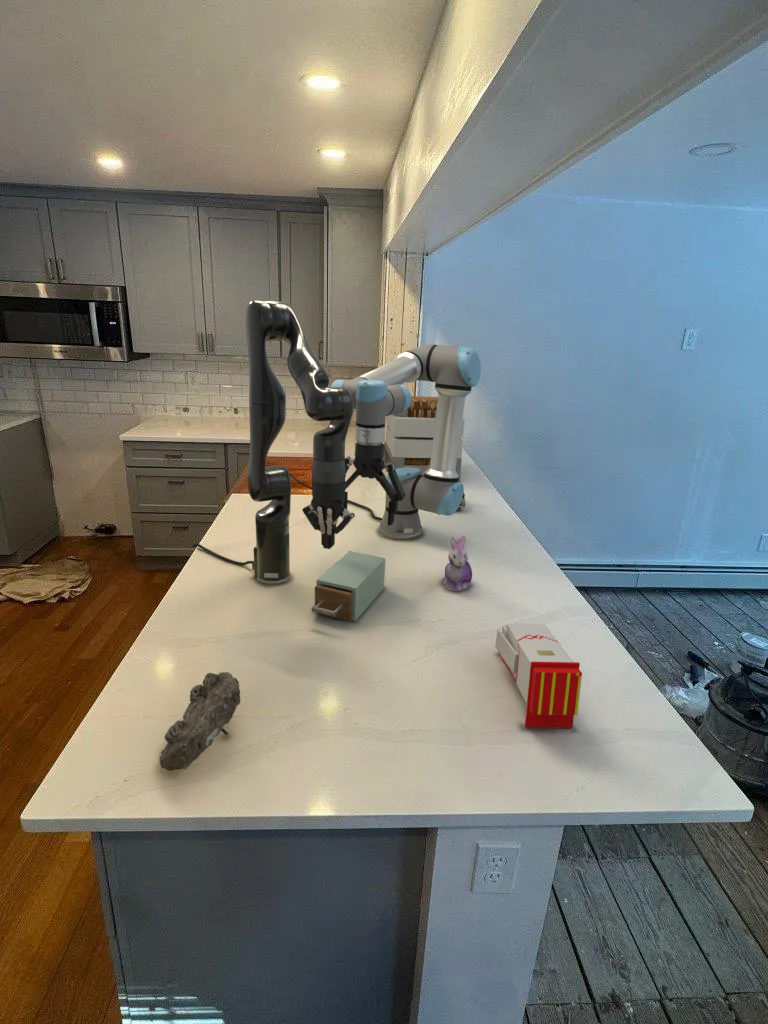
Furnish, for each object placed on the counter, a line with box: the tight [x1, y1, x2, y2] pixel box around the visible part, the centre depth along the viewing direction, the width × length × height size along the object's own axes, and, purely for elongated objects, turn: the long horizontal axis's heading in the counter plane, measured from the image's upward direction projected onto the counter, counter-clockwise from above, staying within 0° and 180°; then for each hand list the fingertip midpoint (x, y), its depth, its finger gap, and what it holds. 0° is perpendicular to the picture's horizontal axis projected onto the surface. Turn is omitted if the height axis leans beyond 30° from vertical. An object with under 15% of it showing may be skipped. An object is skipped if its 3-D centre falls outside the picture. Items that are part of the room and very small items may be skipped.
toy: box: [494, 623, 583, 729], centre depth 120 cm, size 12×13×30 cm
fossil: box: [159, 671, 241, 772], centre depth 102 cm, size 22×10×15 cm
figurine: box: [443, 534, 473, 592], centre depth 162 cm, size 9×10×15 cm
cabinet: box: [315, 550, 386, 622], centre depth 152 cm, size 20×11×9 cm, turn 159°
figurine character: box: [457, 492, 466, 511], centre depth 229 cm, size 7×8×15 cm
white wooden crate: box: [383, 395, 465, 483], centre depth 268 cm, size 34×33×41 cm
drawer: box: [311, 584, 352, 622], centre depth 148 cm, size 24×10×7 cm, turn 159°
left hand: (328, 547), depth 134 cm, fingers closed
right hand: (366, 519), depth 153 cm, fingers open, 13 cm apart
